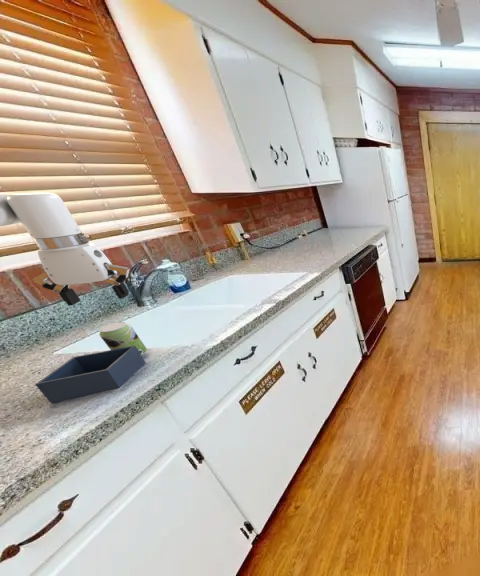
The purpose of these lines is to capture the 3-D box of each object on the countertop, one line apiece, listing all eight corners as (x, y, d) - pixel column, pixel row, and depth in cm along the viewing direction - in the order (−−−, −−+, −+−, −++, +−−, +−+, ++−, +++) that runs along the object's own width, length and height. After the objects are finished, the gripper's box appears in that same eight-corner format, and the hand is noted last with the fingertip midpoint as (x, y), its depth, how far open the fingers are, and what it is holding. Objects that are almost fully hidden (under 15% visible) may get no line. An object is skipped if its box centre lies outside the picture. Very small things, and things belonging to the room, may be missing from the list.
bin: (51, 404, 75) (34, 384, 72) (87, 375, 85) (73, 356, 82) (120, 389, 80) (107, 370, 77) (146, 363, 90) (135, 345, 87)
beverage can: (146, 349, 97) (126, 317, 92) (152, 355, 93) (131, 322, 88) (116, 359, 92) (93, 326, 87) (121, 366, 88) (97, 332, 83)
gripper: (119, 235, 83) (149, 289, 91) (24, 242, 76) (65, 300, 83) (100, 241, 77) (134, 299, 84) (-5, 250, 70) (42, 312, 77)
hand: (100, 300), depth 84 cm, fingers open, 9 cm apart
